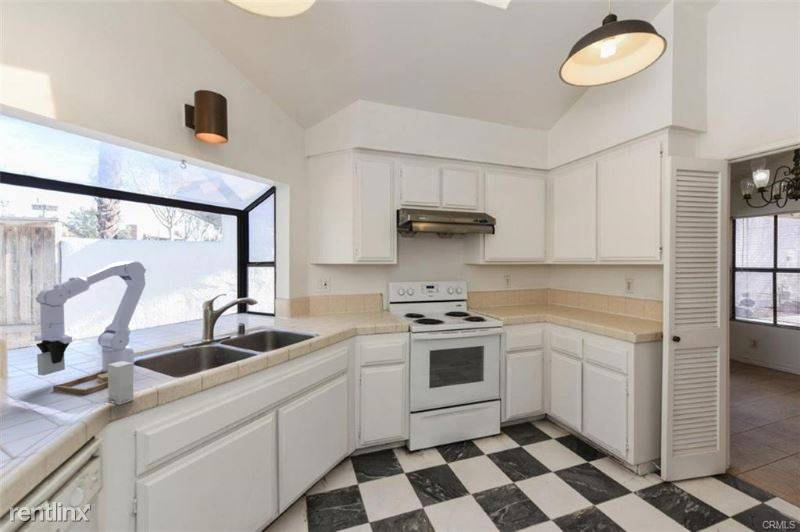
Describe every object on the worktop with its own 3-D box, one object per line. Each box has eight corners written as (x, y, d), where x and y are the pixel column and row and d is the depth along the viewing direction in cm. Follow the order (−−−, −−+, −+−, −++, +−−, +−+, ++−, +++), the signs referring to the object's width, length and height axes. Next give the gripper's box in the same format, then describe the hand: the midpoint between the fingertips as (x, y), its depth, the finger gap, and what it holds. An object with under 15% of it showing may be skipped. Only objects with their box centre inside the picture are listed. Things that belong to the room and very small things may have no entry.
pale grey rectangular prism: (59, 368, 120) (58, 349, 120) (64, 369, 120) (64, 349, 119) (38, 374, 114) (37, 354, 114) (43, 375, 114) (42, 354, 114)
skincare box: (134, 400, 108) (133, 362, 108) (118, 405, 105) (117, 367, 104) (123, 396, 111) (122, 360, 110) (107, 401, 107) (106, 364, 107)
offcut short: (108, 377, 124) (108, 372, 123) (114, 380, 121) (113, 375, 121) (97, 380, 121) (97, 375, 121) (102, 383, 118) (102, 377, 118)
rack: (103, 378, 127) (103, 370, 126) (132, 382, 123) (132, 374, 123) (53, 395, 112) (53, 386, 112) (84, 399, 109) (84, 390, 108)
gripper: (22, 324, 115) (23, 364, 115) (53, 326, 112) (55, 367, 112) (48, 320, 122) (49, 358, 122) (78, 322, 118) (79, 361, 119)
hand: (53, 362), depth 118 cm, fingers closed on pale grey rectangular prism, 2 cm apart
